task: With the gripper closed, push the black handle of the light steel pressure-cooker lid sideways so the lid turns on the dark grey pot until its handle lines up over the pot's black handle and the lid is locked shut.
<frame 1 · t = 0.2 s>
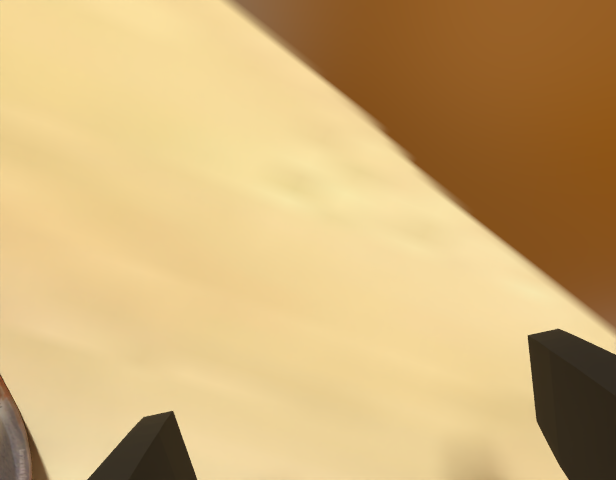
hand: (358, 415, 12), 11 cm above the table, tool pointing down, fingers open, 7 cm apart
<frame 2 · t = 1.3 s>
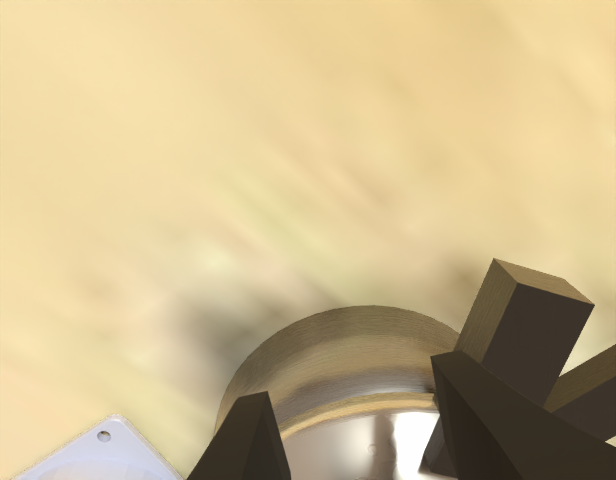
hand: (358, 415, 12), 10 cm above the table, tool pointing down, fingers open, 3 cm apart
cooker pot: (361, 437, 24), on the table
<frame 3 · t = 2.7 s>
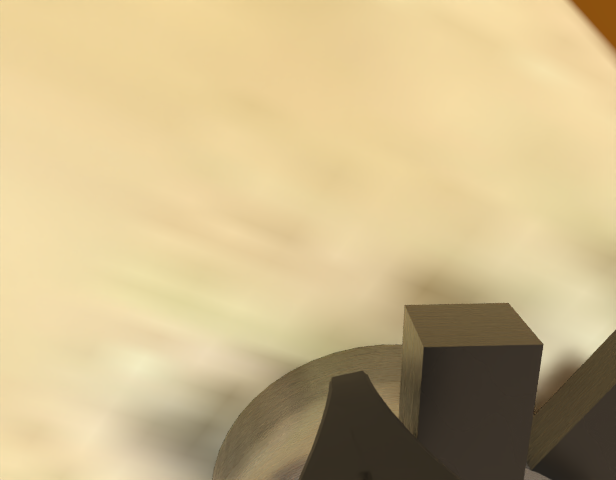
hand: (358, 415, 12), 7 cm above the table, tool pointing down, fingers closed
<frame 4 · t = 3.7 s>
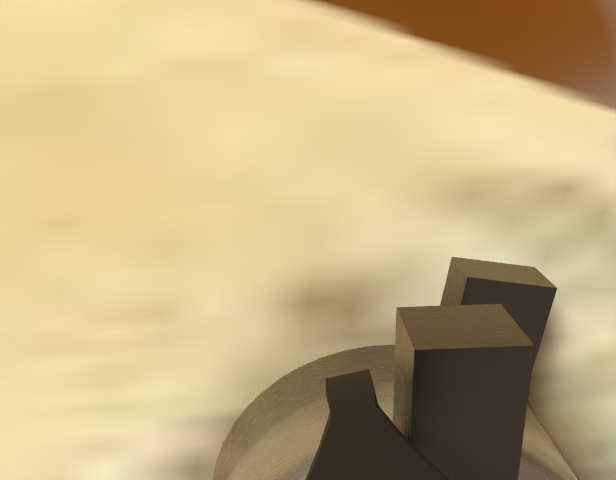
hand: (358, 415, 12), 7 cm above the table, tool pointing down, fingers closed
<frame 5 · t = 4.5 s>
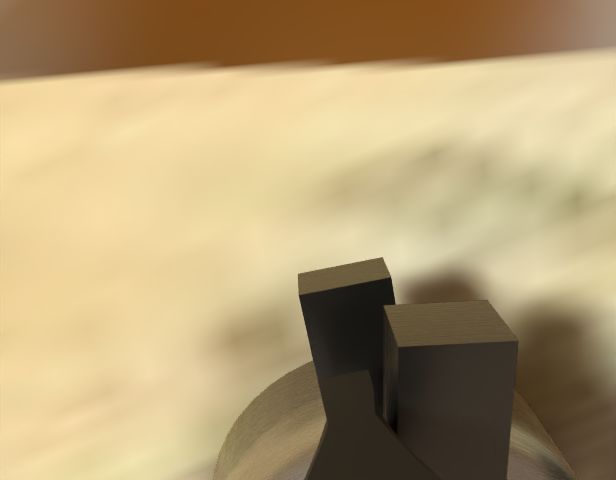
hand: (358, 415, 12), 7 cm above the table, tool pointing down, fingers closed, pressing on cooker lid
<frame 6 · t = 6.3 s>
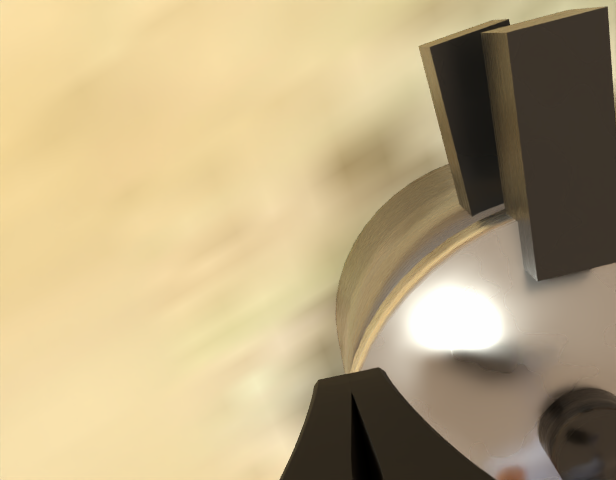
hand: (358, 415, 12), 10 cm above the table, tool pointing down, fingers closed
cooker pot: (490, 307, 23), on the table
cooker lid: (577, 362, 15), point 7 cm above the table, hinge at -4.7°
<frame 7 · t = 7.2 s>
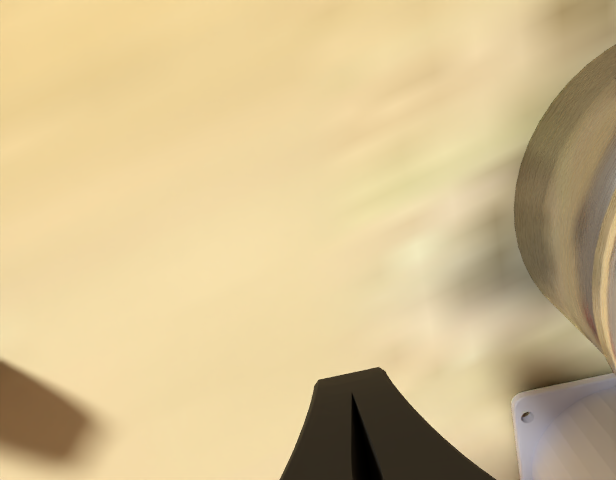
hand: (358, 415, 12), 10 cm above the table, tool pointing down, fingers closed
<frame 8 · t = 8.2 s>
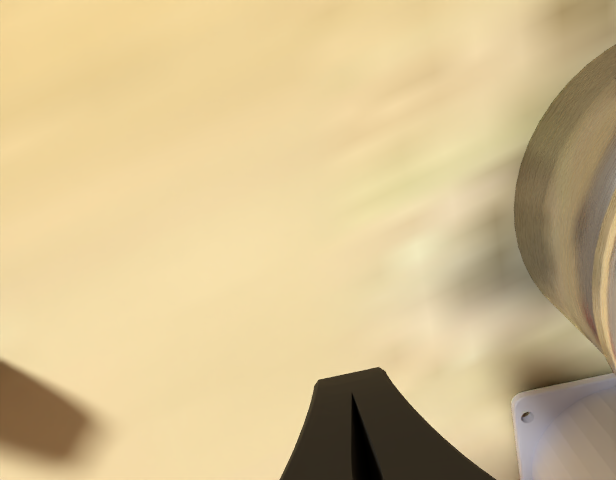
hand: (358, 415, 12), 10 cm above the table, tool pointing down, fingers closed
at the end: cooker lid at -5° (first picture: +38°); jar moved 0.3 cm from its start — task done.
